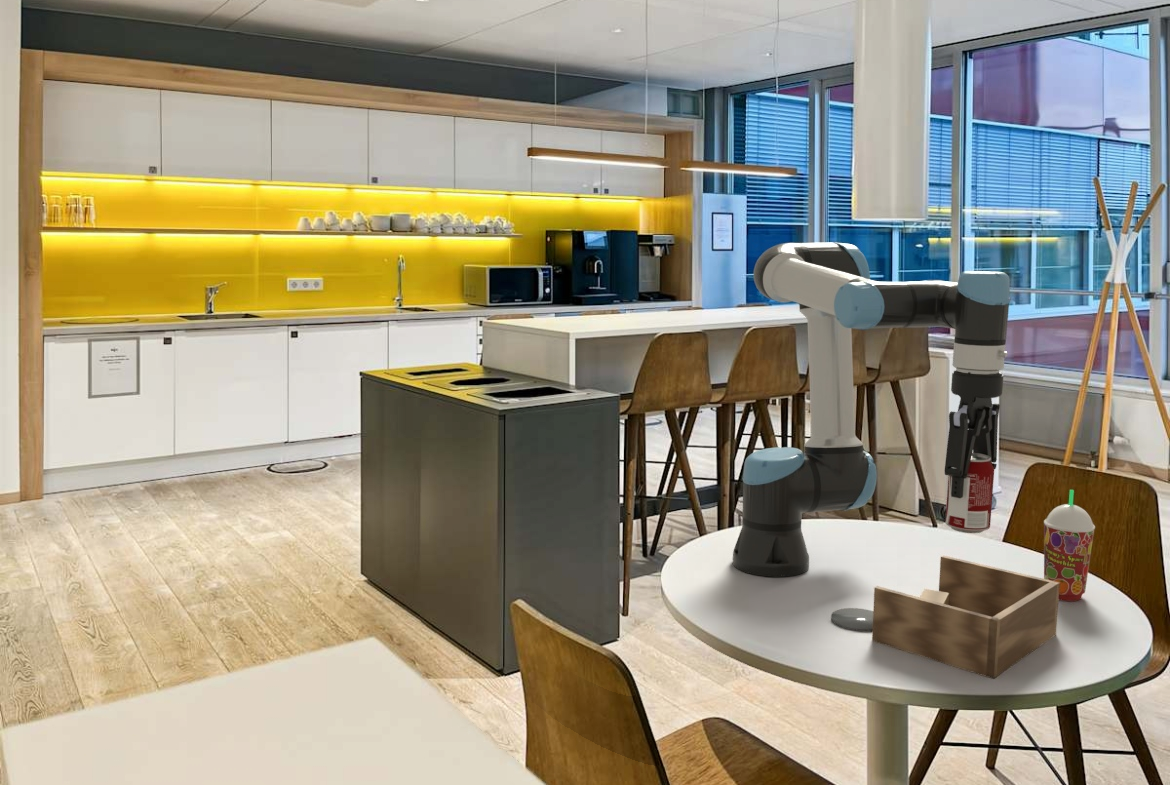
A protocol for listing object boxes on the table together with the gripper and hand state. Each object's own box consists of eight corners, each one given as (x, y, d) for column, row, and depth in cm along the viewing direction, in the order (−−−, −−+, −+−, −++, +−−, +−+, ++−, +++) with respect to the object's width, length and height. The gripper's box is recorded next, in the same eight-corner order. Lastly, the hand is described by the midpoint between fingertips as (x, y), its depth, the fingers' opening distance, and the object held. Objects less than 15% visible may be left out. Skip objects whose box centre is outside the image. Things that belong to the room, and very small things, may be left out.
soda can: (993, 536, 155) (999, 462, 153) (948, 533, 156) (953, 460, 154) (984, 523, 161) (990, 452, 159) (941, 521, 162) (946, 450, 160)
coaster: (821, 620, 169) (821, 617, 169) (849, 607, 175) (849, 604, 175) (868, 635, 162) (868, 631, 162) (895, 621, 169) (895, 617, 168)
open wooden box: (872, 640, 160) (874, 587, 159) (940, 603, 177) (943, 555, 175) (993, 678, 146) (997, 620, 145) (1055, 634, 163) (1059, 582, 161)
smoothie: (1035, 598, 180) (1042, 491, 177) (1043, 585, 186) (1050, 482, 184) (1086, 607, 175) (1094, 498, 172) (1092, 593, 182) (1100, 488, 179)
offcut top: (917, 616, 164) (918, 599, 163) (923, 605, 169) (924, 588, 168) (942, 621, 162) (943, 603, 161) (948, 609, 167) (949, 592, 166)
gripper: (974, 379, 145) (964, 529, 149) (1026, 366, 159) (1015, 504, 162) (926, 374, 150) (917, 519, 154) (980, 362, 164) (971, 496, 168)
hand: (967, 511), depth 158 cm, fingers closed on soda can, 7 cm apart
